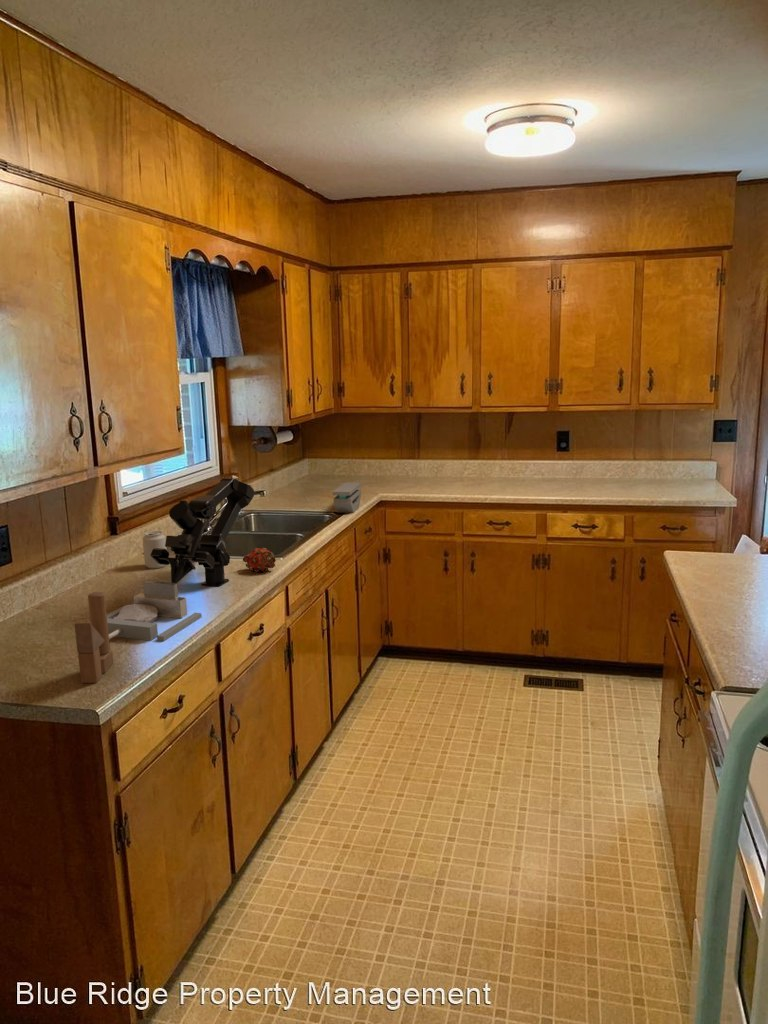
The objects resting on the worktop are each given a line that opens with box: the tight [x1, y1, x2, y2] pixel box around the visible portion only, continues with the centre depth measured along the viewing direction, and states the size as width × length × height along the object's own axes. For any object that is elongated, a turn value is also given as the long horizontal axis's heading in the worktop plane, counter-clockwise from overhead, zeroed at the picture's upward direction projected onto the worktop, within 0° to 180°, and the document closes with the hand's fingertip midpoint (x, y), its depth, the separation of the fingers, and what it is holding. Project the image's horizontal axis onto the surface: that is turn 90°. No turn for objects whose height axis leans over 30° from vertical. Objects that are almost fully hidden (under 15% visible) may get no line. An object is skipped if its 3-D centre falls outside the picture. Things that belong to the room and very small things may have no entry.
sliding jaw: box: [133, 580, 188, 619], centre depth 207 cm, size 3×15×9 cm, turn 72°
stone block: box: [114, 603, 158, 623], centre depth 201 cm, size 12×5×10 cm
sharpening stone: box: [332, 481, 362, 514], centre depth 342 cm, size 25×8×11 cm, turn 170°
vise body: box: [107, 605, 203, 642], centre depth 195 cm, size 29×25×4 cm
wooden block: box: [73, 591, 114, 684], centre depth 168 cm, size 4×11×18 cm, turn 0°
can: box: [142, 530, 167, 570], centre depth 255 cm, size 8×8×12 cm
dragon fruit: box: [242, 547, 277, 573], centre depth 248 cm, size 8×8×12 cm
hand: (173, 584), depth 213 cm, fingers closed
